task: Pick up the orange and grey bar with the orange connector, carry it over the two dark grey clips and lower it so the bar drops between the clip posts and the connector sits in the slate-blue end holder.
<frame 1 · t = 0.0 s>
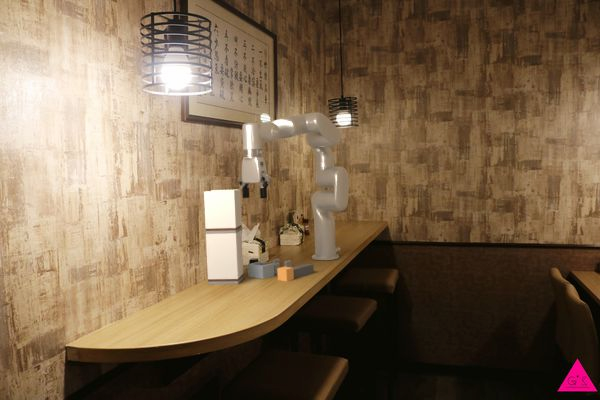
hand: (254, 198, 203), 31 cm above the table, tool pointing down, fingers open, 9 cm apart
clip 1: (282, 270, 214), on the table
white banded pillar: (226, 281, 197), on the table
clip 2: (270, 273, 208), on the table
orange and grey bar: (299, 275, 203), on the table
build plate: (254, 269, 221), on the table
end holder: (262, 276, 204), on the table
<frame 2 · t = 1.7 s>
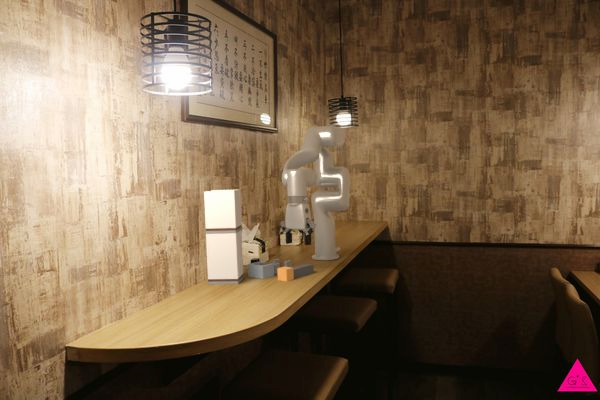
hand: (298, 244, 202), 13 cm above the table, tool pointing down, fingers open, 9 cm apart
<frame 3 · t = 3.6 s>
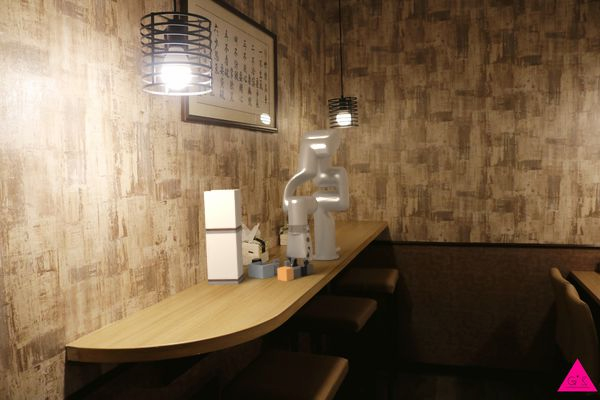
hand: (299, 274, 203), 0 cm above the table, tool pointing down, fingers closed on orange and grey bar, 3 cm apart
orange and grey bar: (299, 275, 203), on the table, touching gripper
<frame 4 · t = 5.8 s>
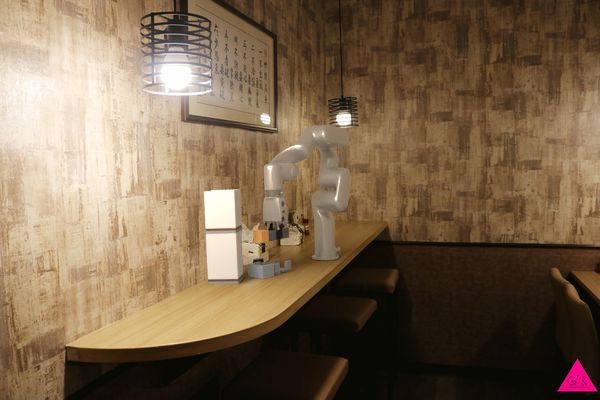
hand: (275, 238, 210), 14 cm above the table, tool pointing down, fingers closed on orange and grey bar, 3 cm apart
orange and grey bar: (275, 239, 210), point 14 cm above the table, touching gripper
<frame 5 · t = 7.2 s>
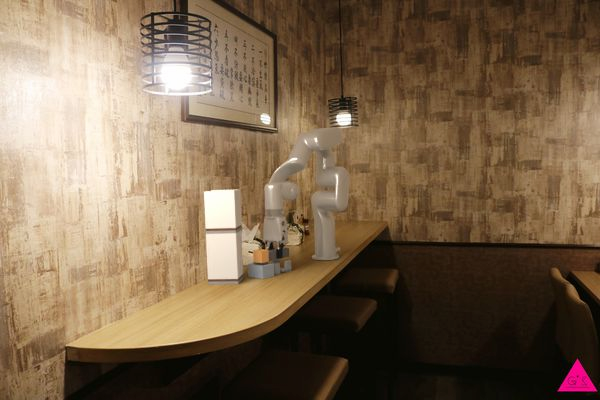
hand: (275, 257, 210), 6 cm above the table, tool pointing down, fingers closed on orange and grey bar, 3 cm apart
orange and grey bar: (275, 258, 210), point 6 cm above the table, touching gripper
when the fingers open (2 cm above the table, at t = 8.2 s): orange and grey bar drops 1 cm, resting on clip 1, clip 2, end holder.
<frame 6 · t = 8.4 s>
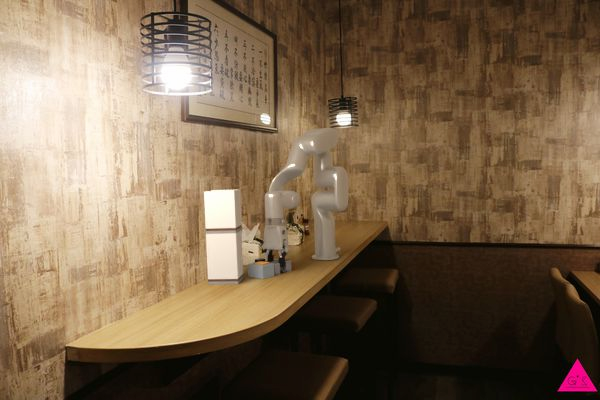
hand: (276, 265, 211), 3 cm above the table, tool pointing down, fingers open, 5 cm apart
orange and grey bar: (276, 270, 211), point 1 cm above the table, touching clip 1, clip 2, end holder
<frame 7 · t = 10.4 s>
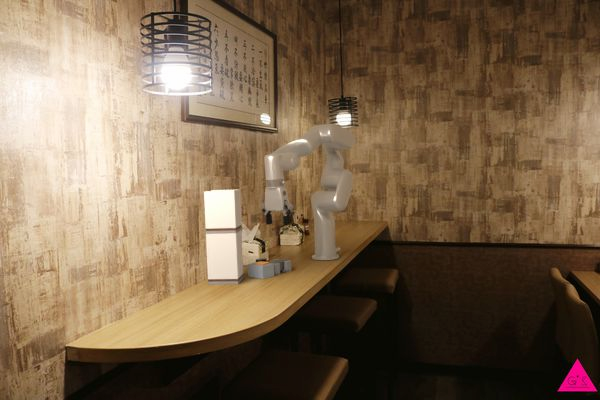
hand: (277, 224, 214), 19 cm above the table, tool pointing down, fingers open, 9 cm apart
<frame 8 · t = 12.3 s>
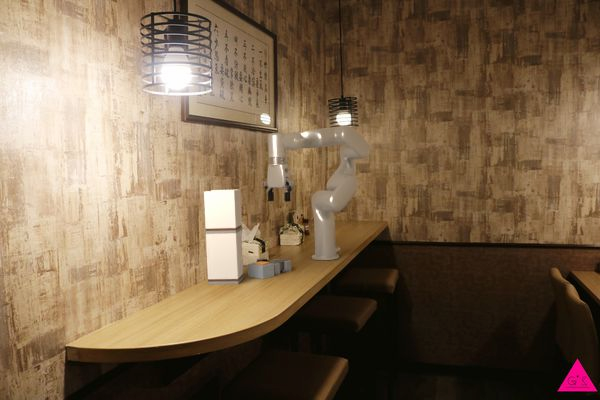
hand: (279, 201, 223), 28 cm above the table, tool pointing down, fingers open, 9 cm apart
at the end: orange and grey bar 0.2 cm from the target spot, point 0.8 cm above the table; orange and grey bar tilted 0°; the gripper is holding nothing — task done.
